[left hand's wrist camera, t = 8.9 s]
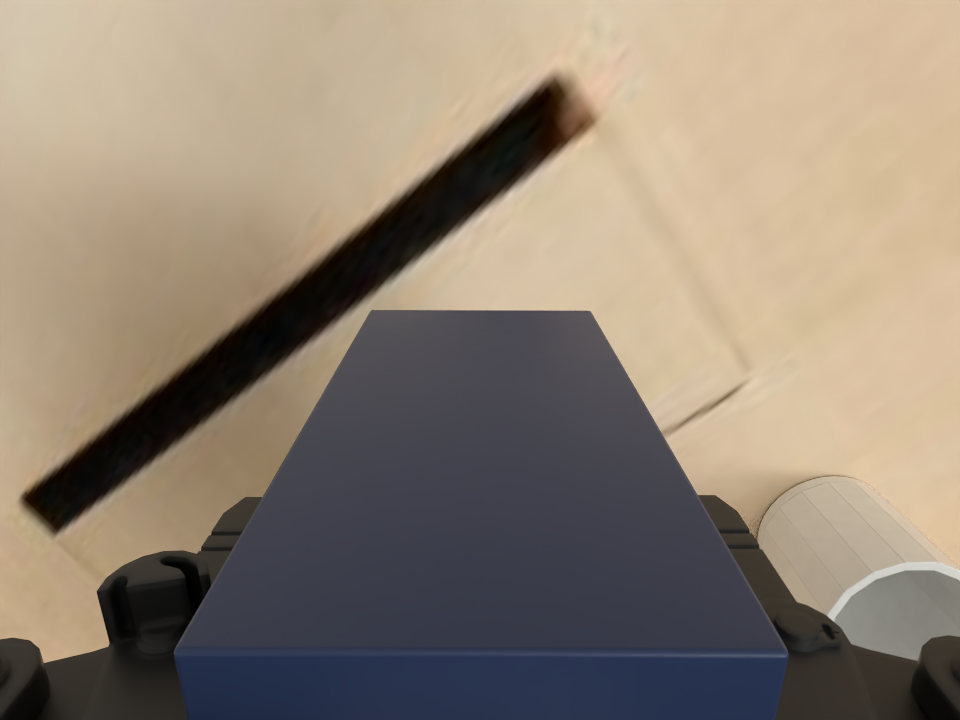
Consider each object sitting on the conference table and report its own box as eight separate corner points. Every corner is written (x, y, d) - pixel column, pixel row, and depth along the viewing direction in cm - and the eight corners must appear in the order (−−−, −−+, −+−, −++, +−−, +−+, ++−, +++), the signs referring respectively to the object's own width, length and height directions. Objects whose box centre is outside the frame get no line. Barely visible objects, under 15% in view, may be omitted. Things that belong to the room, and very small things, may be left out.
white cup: (767, 475, 31) (839, 562, 25) (901, 475, 31) (1005, 562, 25) (748, 584, 33) (809, 689, 27) (872, 584, 33) (962, 689, 27)
